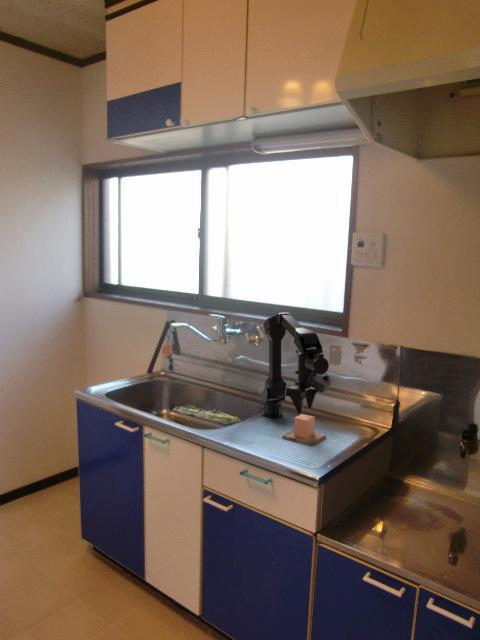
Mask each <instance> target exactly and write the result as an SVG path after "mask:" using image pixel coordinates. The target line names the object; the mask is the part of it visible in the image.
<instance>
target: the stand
mask: <svg viewBox="0 0 480 640" xmlns="http://www.w3.org/2000/svg"><path fill="white" fill-rule="evenodd" d="M326 436H327V435H326V434H324V433H321V432H317V431H314V435H313V436H311V437H309V438H308V439H305V438H302V437H298V436H294V428H293V429H291V430H290V431H288V432H286V433H285V434H283V435H282V436H281V437H282V439H285V440H286V441H287V440H288V441H292V442H295V443H299V444H303V445H308V446H312V447H313V446H315V445H316V444H318V443H320V442H321V441H323V440H325V439H326V438H327V437H326Z"/></svg>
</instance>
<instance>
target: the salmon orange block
mask: <svg viewBox="0 0 480 640" xmlns="http://www.w3.org/2000/svg"><path fill="white" fill-rule="evenodd" d="M293 421H294V427H293V429H294V436H298V437H302V438H305V439H308V438H309V437H311V436H313V435H314V432H315V416H313V415H307V414H305V413H304V414H303V413H301V414H299V415H297V416H295V417H294V420H293Z"/></svg>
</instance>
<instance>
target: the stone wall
mask: <svg viewBox="0 0 480 640" xmlns="http://www.w3.org/2000/svg"><path fill="white" fill-rule="evenodd" d="M172 411H174V412H178V413H179V414H181V415H194V417H196V418H198V419H203V420H207V421H211V422H217V423H221V424H225V425H227V424H228V425H229V424H233V423H239V422H241V421H242V420H241V419H240V417H239V416H233V415H230V414H228V413H225V412H222V411H221V410H219V409H217V408H215V409H211V410H210V409H209V410H205V409H204V408H203V409H202V408H201V407H200V408H197V407H195V406H194V405H192V404H185V405H180V406H176V407H174V408H173V409H172Z"/></svg>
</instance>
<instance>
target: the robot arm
mask: <svg viewBox="0 0 480 640" xmlns="http://www.w3.org/2000/svg"><path fill="white" fill-rule="evenodd" d="M263 328H264V334H265V336H266V337H267V339H268V377H267V379H266V380H265V382H264V388H263V390H262V391H261V393H260V399H261V401H262V402H263V413H262V414H261V416H264V417H268V418H272V419H277V418H279V417H281V416H284V413H283V405H282V402H284V401H286V397H288V398H290V399H291V401H292V402H293V405H294V407H295V410H296V411H297V414H299V415H301V414H303V412H302V411H303V405H304V400H305V401H306V405H307V409H312V407H313V405H314V404H313V403H314V402H315V399H316V395H317V394H318V393H320V394H323V393H324V392H328V390H329V387H330V386H331V383H332V382H331V376H329V375H328V374H326V373H327V372H328V370H329V366H330V364H329V361H328V360H327V358H325V354H324V351H323V345H322V343H321V341H320V338H319V336H318V334H317V332H315V331H313V330H312V329H308V328H305V327H304V326H303V325H302V324H301V323H299V322H298V321H297V320H296V319H295V318H294V317H293V316H292V314H291V313H290V312H279V313H276V315H273V316H271V317H268V318H266V320H265V321H264V322H263ZM286 332H288V333H289V334H290V335H291V337H293V343H294V345H295V346H296V348H297V349H296V350H295V353H296V354H297V355H298V356H297V370H295V372H294V373H295V375H297V381H295V382H294V385H289V386H288V387H287V382H286V381H284V379H283V377H282V340H283V339H284V337H285V336H286ZM324 374H326V375H324ZM320 375H321V376H320ZM322 375H324V376H322Z"/></svg>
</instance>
